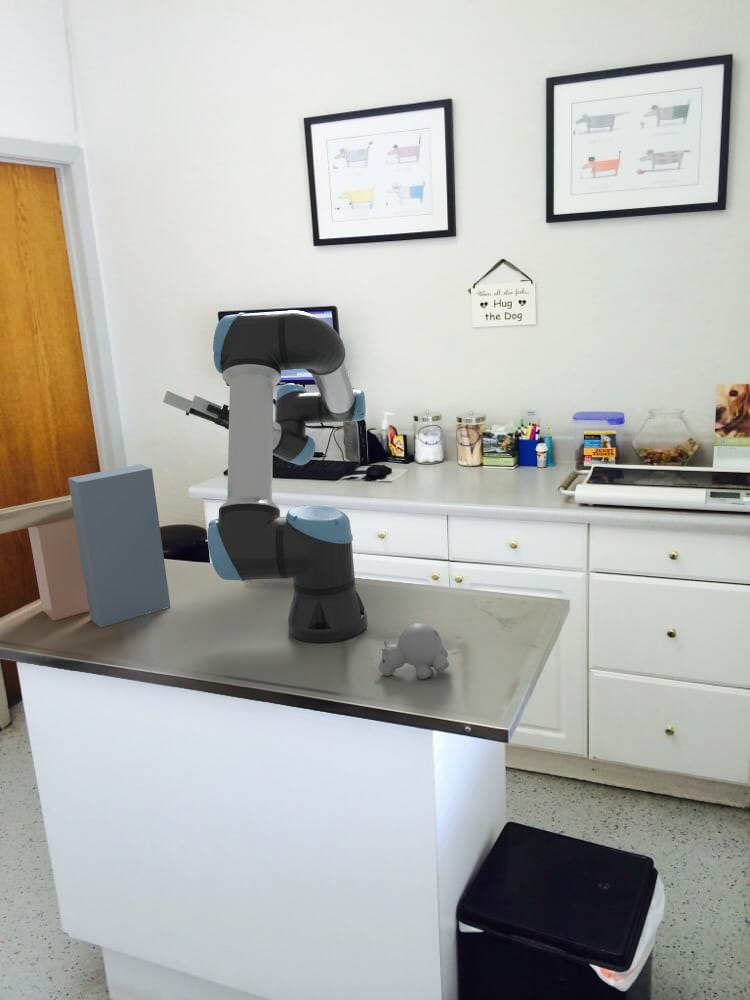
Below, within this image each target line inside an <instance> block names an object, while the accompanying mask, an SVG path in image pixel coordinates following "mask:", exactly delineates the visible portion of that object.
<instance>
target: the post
mask: <svg viewBox="0 0 750 1000" xmlns="http://www.w3.org/2000/svg"><path fill="white" fill-rule="evenodd" d="M67 481H68V486H69V492H70V493H69V495H71V500H72V506H73V513H74V519H75V525H76V531H77V537H78V544H79V550H80V556H81V562H82V569H83V575H84V581H85V587H86V593H87V600H88V606H89V611H88V612H89V617H90V620H91V621H92V622H93V623H94V624H96V625H97V626H98V627H99V628H104V627H108V626H110V625H114V624H117V623H122V622H124V621H128V620H131V618H132V619H135V618H138V617H137V616H139V617H141V616H140V615H142V614H145V615H147V614H146V613H149V612H152V613H154V612H153V611H156V610H159V611H161V610H160V609H163V608H166V607H169V608H171V600H170V593H169V586H168V580H167V571H166V570H167V569H166V564H165V556H164V550H163V549H164V548H163V541H162V535H161V527H160V521H159V519H160V518H159V511H158V503H157V497H156V491H155V490H156V489H155V482H154V474H153V468H151V467H149V466H147V465H143V464H142V463H141V464H135V465H131V466H125V467H119V468H115V469H109V470H103V471H99V472H93V473H88V474H83V475H78V476H77V475H76V476H71V477H68V478H67ZM166 609H167V608H166ZM163 610H164V609H163ZM156 612H157V611H156ZM149 614H150V613H149ZM142 616H143V615H142ZM134 617H135V618H134Z"/></svg>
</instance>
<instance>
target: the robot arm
mask: <svg viewBox="0 0 750 1000" xmlns="http://www.w3.org/2000/svg"><path fill="white" fill-rule="evenodd" d="M213 334H214V335H213V342H212V352H213V363H214V367H215V370H217V372H218V373H219V374H222V376H221V377H222V380H223V381H224V382H225V383H226V384H227V385H228V386H229V404H228V405H227V404H225V403H223V406H221V405H219V404H216V403H214V402H212V401H210V400H206V399H205V398H203V397H200V396H198V395H194V396H193V399H192V400H190V399H187V398H186V397H184V396H181V395H178V394H176V393H173V392H171V391H169V390H166V392H165V395H164V398H163V401H162V403H164V404H166V405H169V406H171V407H174V408H176V409H178V410H181V411H183V412H185V416H187V417H189V415H193V416H195V417H198V418H202V419H203V420H206V421H209V422H211V423H214V424H215V425H216V426H217V425H218V426H220V427H222V428H224V429H225V430H228V444H227V445H228V449H227V450H228V453H227V457H228V458H227V492H226V493H227V495H226V496H227V497H226V501H225V502H224V503H223V504H222V505H220V506H219V508H218V518H213V519H212V520H210V521H209V522H208V527H207V534H206V535H207V545H208V551H209V556H210V561H211V564H212V567H213V569H214V571H215V572H216V574H217V575H218V576H219V578H221V579H222V580H225V581H240V582H245V581H252V580H253V581H254V580H275V579H276V580H278V579H279V580H280V579H281V580H282V579H292V581H293V590H294V591H293V596H292V601H291V605H290V610H289V615H288V618H287V624H288V625H287V628H288V633H289V634H290V636H292V638H295V639H296V640H299V641H303V642H307V643H318V644H322V643H323V644H324V643H334V642H339V641H343V640H348V639H350V638H353V636H354V637H356V636H358V635H360V634H362V633H363V632H364V631H365V630H366V628H367V626H368V615H367V611H366V608H365V605H364V603H363V601H362V598H361V596H360V594H359V592H358V589H357V586H356V579H355V578H356V577H355V566H354V553H353V539H354V537H353V534H352V529H351V522H350V518H349V517H348V515H347V514H346V513H345V512H343V511H342V510H340V509H337V508H335V507H330V506H327V505H326V506H325V505H315V504H314V505H311V504H310V505H309V504H308V505H303V506H295V507H292V508H290V509H289V510H288V511H287V513H286V516H281V509H280V507H279V506H278V505H276V504H275V502H273V463H274V462H273V461H274V460H273V459H274V458H273V456H275V457H276V458H279V459H281V460H284V461H285V462H287V463H292V464H295V465H297V466H304V465H305V464H307V463H309V462H310V461H311V459H312V458H313V457H314V454H315V451H316V443H315V440H314V439H313V438H312V437H310V436H309V435H307V434H306V431H307V429H306V428H307V427H306V426H307V425H309V424H326V423H329V424H330V423H353V422H359V421H364V419H365V418H366V413H367V412H366V411H367V410H366V398H365V397H366V396H365V392H364V391H363V390H359V389H353V386H352V383H351V381H350V376H349V374H348V371H347V367H346V363H345V359H346V349H345V345H344V341H343V340H342V337H341V336H340V335H339V332H337V331H336V330H335V329H334V328H333V327H332V326H331V325H330V323H329V324H328V323H327V322H326V321H325V320H323V319H322V318H320V317H318V316H316V315H314V314H311V313H309V312H306V311H301V310H294V309H292V310H282V311H267V312H253V313H252V312H249V313H247V312H239V313H238V314H229V315H228V314H227V315H225V316H223V317H222V318H221V319H220V320H219V321H218V323H217V324H216V327H215V330H214V333H213ZM287 370H288V371H290V370H306V371H307V372H308V373H310V374H311V376H312V378H313V381H314V382H315V385H316V388H317V390H318V391H317V392H307V390H306V389H307V388H305V387H304V386H303V385H301V384H299V383H297V384H295V383H293V382H292V383H286V384H283V385H281V386H280V387H279V388H278V389H277V392H276V398H275V403H274V388H275V387H276V386H277V385H278V384H280V382H281V380H282V371H287ZM274 407H275V414H274ZM274 416H275V417H274ZM364 629H365V630H364ZM363 630H364V631H363Z"/></svg>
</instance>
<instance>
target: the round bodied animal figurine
mask: <svg viewBox="0 0 750 1000" xmlns="http://www.w3.org/2000/svg"><path fill="white" fill-rule="evenodd" d="M398 638H399V639H398V643H391V644H390V643H389V642H387V641H386V640H384V641H383V645H384V648H382V650H381V651H382V654H381V659H379V661H377V660H376V658H374V659H373V661H374V665H375V667H377V669H378V670H379V672H380V673H381V674H382V675H383V676H384V677H385V676H387V677H389V676H392V675H393V674H394V673H395V672H396V670H398V669H400V668H402V667H403V666H405V664H408V665H410V666H413V667H414V669H415V673H416V675H417V677H418V679H420V680H425V679H428V678H429V677H431V676H432V675H433V670H432V668H433V669H434V670H435V672H437V673H440V672H444V671H445V670H446V669H447V668H449V666H450V663H449V660H448V656H449V655H448V651H447V649H446V648H445V646H443V643H442V639H441V638H442V637H441V635H440V634H439V633H438V631H437V630H436V628H434V627H433V626H431V625H430V624H427V623H423V622H416V623H412V624H410V625H408V626H406V627H405V628H404V629H403V631H402V632H401V634H400V636H399V637H398Z"/></svg>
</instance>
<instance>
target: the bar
mask: <svg viewBox="0 0 750 1000" xmlns="http://www.w3.org/2000/svg"><path fill="white" fill-rule="evenodd" d="M72 518H74V513H73V506H72V500H71V494H69V495H64V496H60V497H54V498H49V499H45V500H44V499H43V500H39V501H35V502H30V503H25V504H21V505H16V506H15V505H14V506H10V507H4V508H0V535H2V534H6V533H10V532H11V533H12V532H15V531H21V530H25V529H28V528H30V527H35V526H39V525H44V524H49V523H53V522H58V521H63V520H67V519H72Z"/></svg>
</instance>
